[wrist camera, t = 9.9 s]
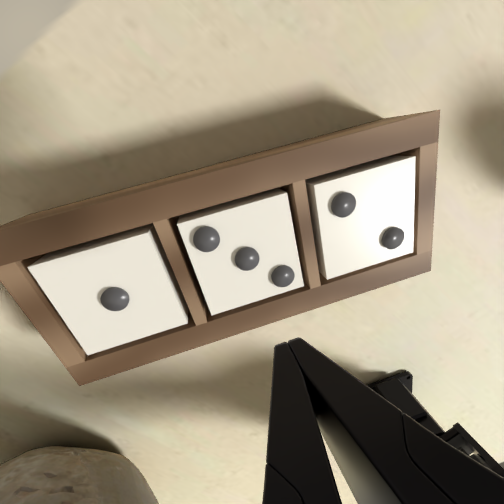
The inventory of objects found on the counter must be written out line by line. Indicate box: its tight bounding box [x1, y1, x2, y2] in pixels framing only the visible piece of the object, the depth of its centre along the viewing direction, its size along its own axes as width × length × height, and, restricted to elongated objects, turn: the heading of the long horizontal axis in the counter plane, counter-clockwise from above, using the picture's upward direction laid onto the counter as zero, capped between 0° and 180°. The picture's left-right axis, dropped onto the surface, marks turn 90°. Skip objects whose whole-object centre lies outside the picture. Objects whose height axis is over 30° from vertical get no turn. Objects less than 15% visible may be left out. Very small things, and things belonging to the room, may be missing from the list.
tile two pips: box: [305, 155, 416, 280], centre depth 16 cm, size 6×6×3 cm
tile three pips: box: [177, 188, 304, 315], centre depth 16 cm, size 6×6×3 cm
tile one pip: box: [27, 223, 189, 355], centre depth 15 cm, size 6×6×3 cm
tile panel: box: [0, 110, 440, 386], centre depth 17 cm, size 10×24×4 cm, turn 103°
